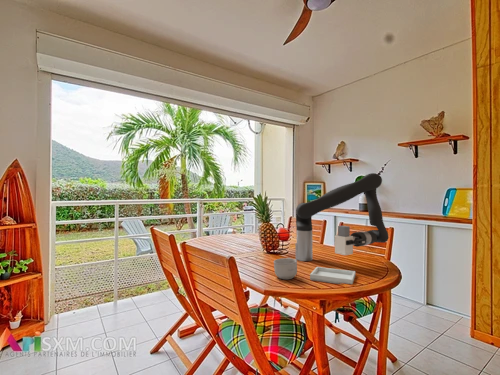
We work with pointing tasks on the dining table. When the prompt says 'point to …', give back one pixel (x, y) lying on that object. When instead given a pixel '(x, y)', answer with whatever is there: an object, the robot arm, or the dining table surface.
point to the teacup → (285, 268)
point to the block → (344, 231)
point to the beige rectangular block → (343, 245)
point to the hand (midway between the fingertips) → (340, 241)
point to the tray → (332, 275)
